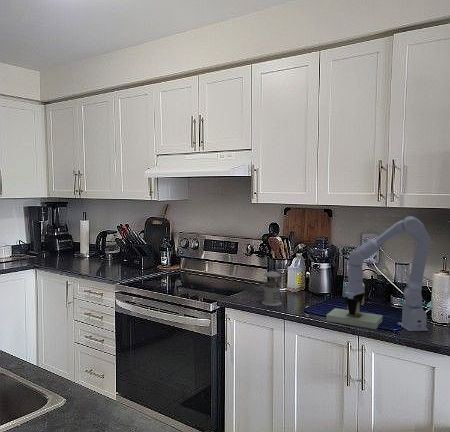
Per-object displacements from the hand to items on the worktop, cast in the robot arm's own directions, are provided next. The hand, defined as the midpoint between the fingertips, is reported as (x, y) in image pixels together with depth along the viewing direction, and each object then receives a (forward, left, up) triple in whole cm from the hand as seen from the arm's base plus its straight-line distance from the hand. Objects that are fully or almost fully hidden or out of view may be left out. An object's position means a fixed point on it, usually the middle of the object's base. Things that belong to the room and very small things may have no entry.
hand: (354, 312), depth 178 cm
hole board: (0, 0, -4) cm, 4 cm away
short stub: (+11, -3, -4) cm, 12 cm away
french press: (+31, +28, -4) cm, 42 cm away
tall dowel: (0, 0, -4) cm, 4 cm away
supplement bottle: (+26, -12, -4) cm, 29 cm away
